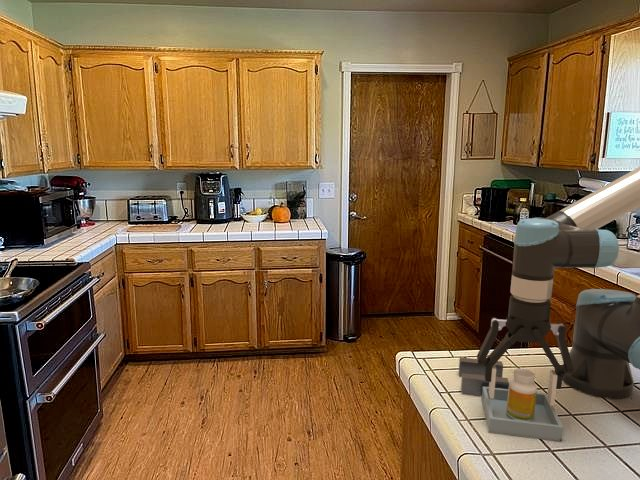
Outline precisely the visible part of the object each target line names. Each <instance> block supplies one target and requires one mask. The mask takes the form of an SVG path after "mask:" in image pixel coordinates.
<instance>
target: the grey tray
mask: <svg viewBox="0 0 640 480" xmlns="http://www.w3.org/2000/svg"><path fill="white" fill-rule="evenodd" d="M547 395H548V393H545V392H537V395H536V403H535V411H534V418H533V420H532V421H530V422H529V421H521V420H514V419H512V418H510V417H509V416H508V415H507V413H506V406H507V398H508V389H501V388H495V391H494V399H491V398H490V396H489V387H483V388H482V396H481V402H482V406H483V407H482V408H483V412H484V416H485V420H486V421H485V422H486V424H487V425H486V427H487V431H488V433H491V434H500V435H507V436H514V437H515V436H516V437H523V438H529V439H538V440H546V441H551V442H552V441H554V442H560V443H561V442H563V435H564V426H563V424H562V422H561V419H560V417H559V415H558V413H557V411H556V409H555V407H554V406H552V405H550V404H549V402H548V400H547Z"/></svg>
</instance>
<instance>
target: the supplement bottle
mask: <svg viewBox="0 0 640 480" xmlns="http://www.w3.org/2000/svg"><path fill="white" fill-rule="evenodd" d="M535 380H536V374H535V373H534V371H532V370H530V369H527V368H521V367H520V368H515V369H514V371H513V378H511V379H510V380H509V389H508V398H507V406H506V413H507V415H508V416H509V417H510V418H512V419H514V420H521V421H529V422H530V421H532V420H533V418H534V411H535V403H536V395H537V393H538V386H537V384H536V383H535Z"/></svg>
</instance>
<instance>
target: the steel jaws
mask: <svg viewBox="0 0 640 480" xmlns="http://www.w3.org/2000/svg"><path fill="white" fill-rule="evenodd" d="M495 367H496V379H495V388H501V389H509V382H510V380H509V378H508V377H503V372H504V364H503V361H499V360H498V361H497V362H496V364H495ZM458 376H459V377H461V380H460V381H461V383H460V394H461V395H465V396H466V395H467V396H475V397H482V388H483V387H489V382H488V381H486V380H485V365H483V364H479V363H478V360H477V358H470V357H461V356H460V357H459V362H458Z"/></svg>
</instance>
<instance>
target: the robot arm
mask: <svg viewBox="0 0 640 480" xmlns="http://www.w3.org/2000/svg"><path fill="white" fill-rule="evenodd" d="M639 207H640V166H638V167H637V168H635V169H633V170H632V171H630V172H627V173H626V174H624V175H622V176H621V177H619V178H617V179H615V180H613V181H611V182H610V183H608V184H606V185H603V186H601V188H599V189H597V190H595V191H593V192H591V193H590V194H588V195H586V196H584V197H582V198H581V199H578V200H577V201H575V202H573V203H571V204H570V205H568V206H566V207H564V208H562V209H561V210H559V211H556V212H555V213H553V214H551V215H549V216H547V217H532V218H523V219H521V220H519V221H518V222H517V224H516V229H515V235H514V240H513V244H514V246H513V257H512V258H513V259H512V271H511V280H510V282H511V283H510V290H509V291H510V294H511V295H510V296H509V301H508V312H507V317H506V318H505V319H500V318H499V319H498V318H497V317H494V316H492V317H491V320H490V328H489V330H488V332H487V334H486V335H485V338H484V340H483V342H482V345H481V346H480V349H479V350H478V353H477V355H476V359H477V360H478V363H479V364H483V365H485V380H486V381H488V382H489V396H490V398H491V399H494V391H495V379H496V367H495V364H496V362H497V361H499V360H500V359H501V358H502V357H503V356H504V354H506V352H507V351H508V350H509V349H510V348H511V347H512V346H514V344H515V343H516V342H519V343H529V344H536V343H538V344H539V345H540V347H541V348H542V350H543V351H544V353H545V355H546V356H547V358H548V361H550V363H551V365H552V366H553V368H554V369H549V377H548V385H547V386H548V388H547V400H548V402H549V404H550V405H552V406H553V407H554V406H555V402H556V401H555V400H556V395H557V394H556V392H557V390H562V385H563V382H564V383H565V384H566V385H567V386H569V387H570V388H572V389H574V390H575V391H578V392H581V393H584V394H587V395H590V396H593V397H594V396H595V397H598V398H605V399H625V398H628V397H629V396H631V395H632V394H633V393H634V385H635V383H634V381H635V380H634V378H633V374H632V369H631V365H632V367H634V368H636V369H637V370H639V371H640V294H638V295H636V294H634V293H632V292H629V291H623V290H618V289H617V290H616V289H605V288H604V289H603V288H597V289H596V288H591V289H584V290H582V291H581V292H580V293H579V294H578V297H577V301H576V305H575V309H576V310H575V320H574V328H573V335H572V336H573V337H572V346H571V349H570V350H569V347H568V344H567V340H566V334H567V328H566V327H565V325H564V324H563V323H562V322H557V323H551V322H550V312H551V303H552V301H551V300H550V299H551V298H552V294H553V283H554V275H555V270H556V268H557V269H561V268H562V269H563V268H564V269H567V268H569V269H570V268H573V269H574V268H575V269H578V268H579V269H581V268H584V269H590V268H591V269H596V268H605V267H606V268H607V267H609V266H612V265H613V264H614V263H615V262H616V261H617V259H618V257H619V250H620V244H619V240H618V239H617V237H616V234H615V233H614V232H612V231H610V230H608V229H601V228H602V227H604V226H606V225H607V224H609V223H611V222H613V221H615V220H616V219H619V218H621V217H622V216H624V215H626V214H627V213H629V212H631V211H634V210H635V209H637V208H639ZM504 327H506V328H507V330H508V332H506V333H505V335H504V338H502V340H501V341H500V342H499V343H498V344H497V346H495V348H494V349H493V350H492V351H491V349H492V347H493V344H494V343H495V340H496V339H497V336H498V334H499V331H502V330H503V328H504ZM550 331H552V333H553V335H554V336H555V338H556V343H557V345H558V347H559V351H560V356H561V359H562V362H563V364H560V363H559V361H558V360H557V358H556V356H555V354H554V353H553V351H552V350H551V348H550V346H549V344H548V343H547V341H546V339H545V336H546V335H547V334H548V333H549V332H550ZM490 351H491V352H490Z"/></svg>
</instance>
